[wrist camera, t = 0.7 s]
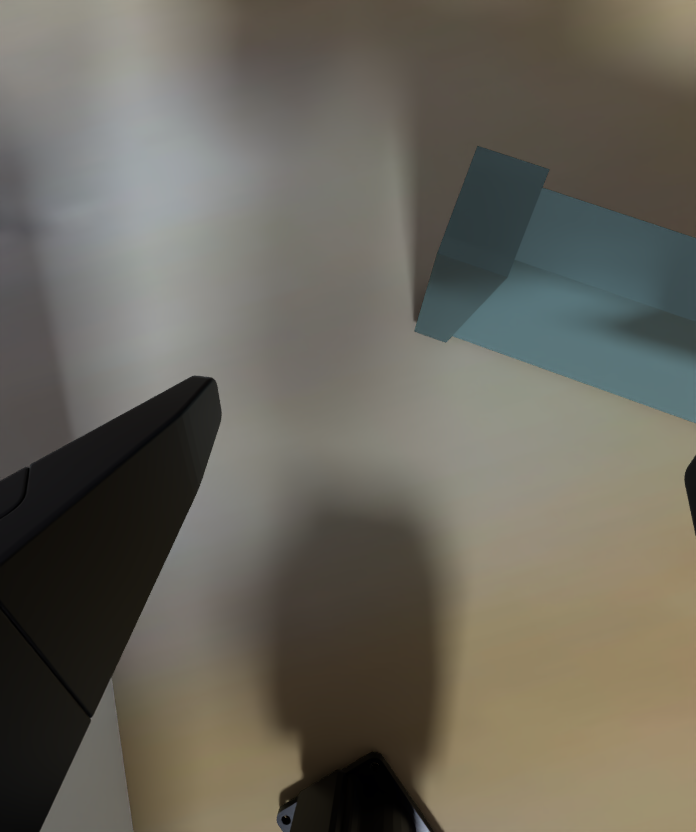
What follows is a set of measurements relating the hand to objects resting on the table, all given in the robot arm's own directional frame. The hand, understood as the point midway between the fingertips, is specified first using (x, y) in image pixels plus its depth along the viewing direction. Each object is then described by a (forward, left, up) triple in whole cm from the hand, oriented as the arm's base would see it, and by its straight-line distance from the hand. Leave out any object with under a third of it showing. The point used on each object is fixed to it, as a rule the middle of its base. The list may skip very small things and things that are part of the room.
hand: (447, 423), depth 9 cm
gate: (-3, -8, -15) cm, 17 cm away
